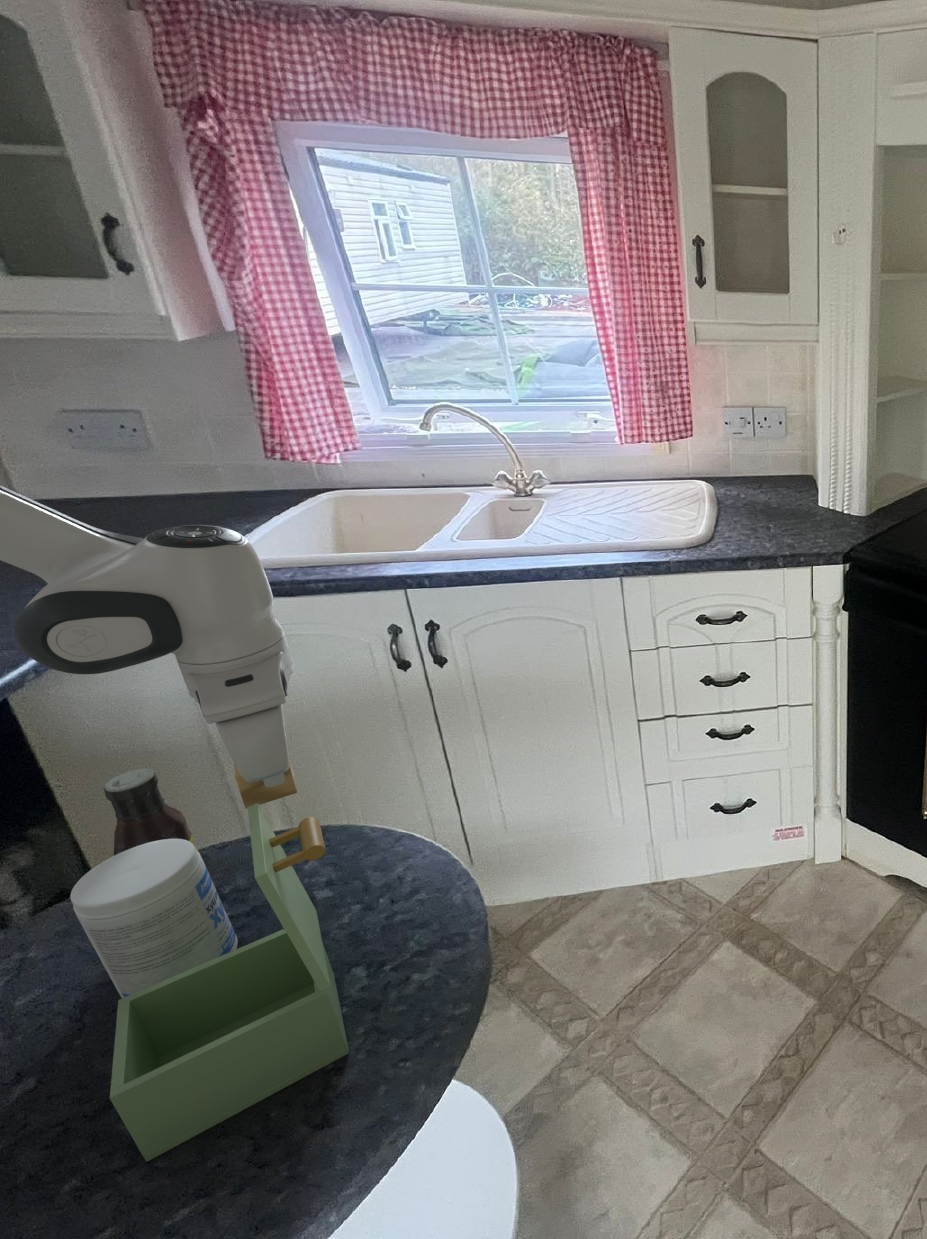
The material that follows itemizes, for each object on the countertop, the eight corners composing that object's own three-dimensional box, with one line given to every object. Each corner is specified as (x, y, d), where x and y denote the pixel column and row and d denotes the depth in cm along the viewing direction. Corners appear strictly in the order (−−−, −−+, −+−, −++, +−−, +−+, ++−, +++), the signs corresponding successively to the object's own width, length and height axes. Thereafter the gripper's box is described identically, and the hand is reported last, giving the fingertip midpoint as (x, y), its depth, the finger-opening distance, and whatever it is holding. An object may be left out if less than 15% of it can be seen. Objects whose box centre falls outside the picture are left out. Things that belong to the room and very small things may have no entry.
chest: (146, 1162, 65) (109, 1098, 62) (150, 1061, 73) (118, 999, 70) (349, 1053, 74) (326, 992, 71) (333, 974, 82) (312, 916, 79)
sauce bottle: (131, 940, 85) (63, 804, 78) (166, 898, 91) (106, 766, 83) (200, 929, 87) (140, 794, 79) (230, 888, 92) (177, 758, 85)
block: (245, 809, 84) (234, 776, 82) (243, 788, 87) (233, 755, 85) (297, 792, 87) (288, 760, 85) (293, 772, 90) (284, 741, 88)
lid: (254, 878, 64) (319, 849, 67) (247, 806, 72) (305, 783, 75) (320, 992, 71) (377, 961, 74) (307, 915, 79) (358, 890, 81)
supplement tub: (258, 952, 84) (217, 854, 79) (151, 1026, 76) (97, 921, 71) (210, 922, 88) (167, 825, 82) (102, 989, 80) (47, 886, 74)
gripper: (198, 639, 86) (233, 737, 91) (202, 719, 72) (242, 829, 77) (269, 624, 90) (298, 719, 95) (285, 697, 76) (318, 803, 81)
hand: (273, 769), depth 86 cm, fingers closed on block, 4 cm apart
